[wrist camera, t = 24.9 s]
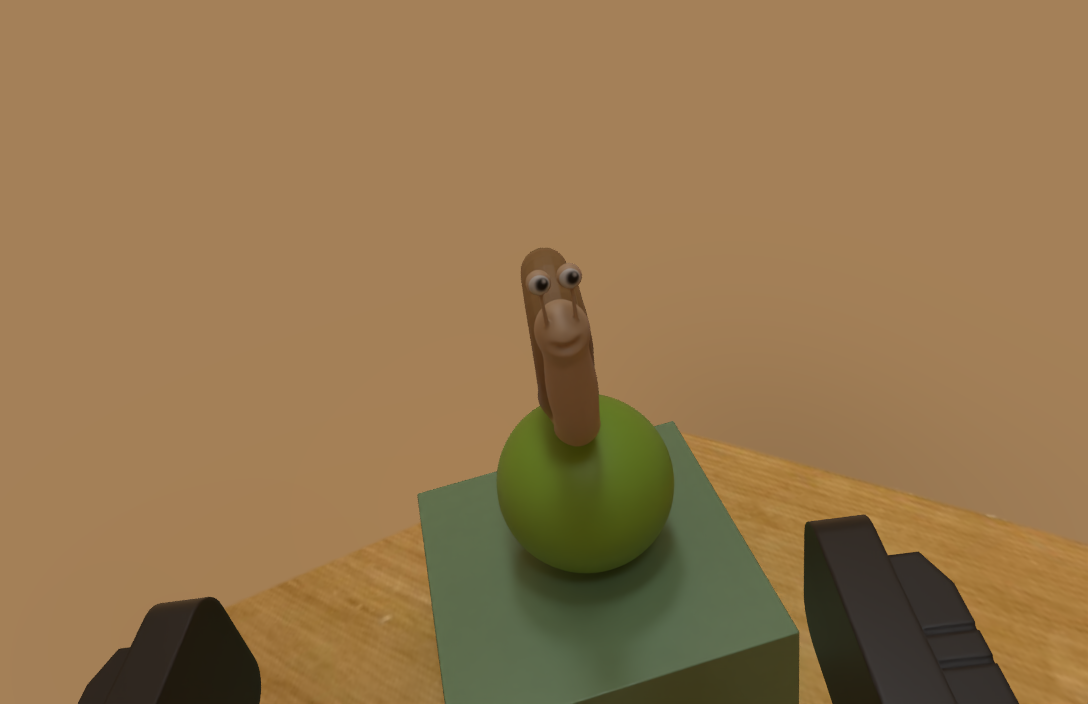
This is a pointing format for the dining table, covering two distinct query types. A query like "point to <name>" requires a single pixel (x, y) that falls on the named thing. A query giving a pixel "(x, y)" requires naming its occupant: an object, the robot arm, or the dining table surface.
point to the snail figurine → (578, 443)
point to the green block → (606, 608)
